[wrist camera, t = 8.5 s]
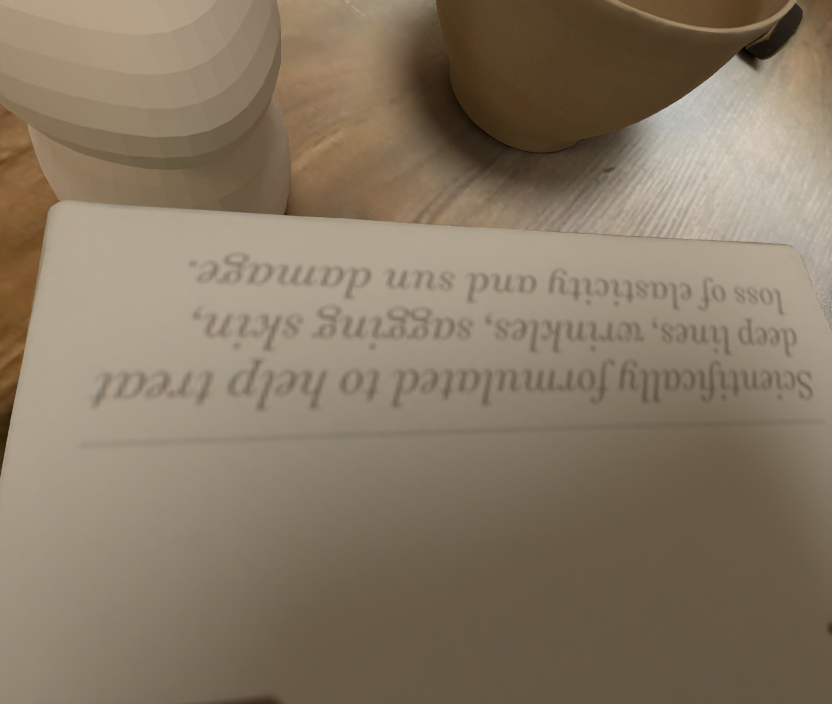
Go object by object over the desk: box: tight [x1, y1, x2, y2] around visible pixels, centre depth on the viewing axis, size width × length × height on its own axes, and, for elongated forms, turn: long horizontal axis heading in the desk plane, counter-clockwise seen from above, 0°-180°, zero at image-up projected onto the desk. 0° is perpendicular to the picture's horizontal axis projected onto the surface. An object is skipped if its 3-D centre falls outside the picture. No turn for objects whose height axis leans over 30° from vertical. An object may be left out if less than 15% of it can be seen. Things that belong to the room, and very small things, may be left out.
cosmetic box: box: [0, 200, 832, 704], centre depth 8 cm, size 6×4×12 cm
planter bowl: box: [436, 0, 797, 153], centre depth 23 cm, size 16×16×11 cm
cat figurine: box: [0, 0, 290, 215], centre depth 15 cm, size 9×12×15 cm
